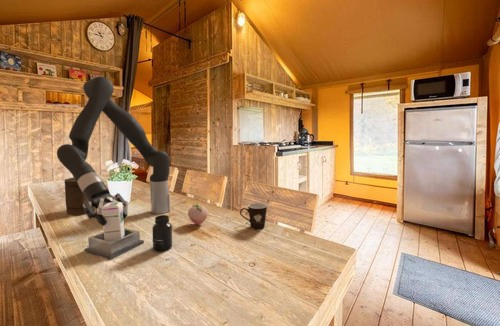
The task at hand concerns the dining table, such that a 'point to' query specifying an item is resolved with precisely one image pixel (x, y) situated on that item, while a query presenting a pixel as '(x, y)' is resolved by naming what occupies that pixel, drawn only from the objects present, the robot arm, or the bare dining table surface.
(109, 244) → the collar
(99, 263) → the dining table surface
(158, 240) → the supplement bottle
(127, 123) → the robot arm
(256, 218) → the coffee mug
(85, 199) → the wooden container
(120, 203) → the syrup box
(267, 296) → the dining table surface
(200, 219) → the decorative fruit
